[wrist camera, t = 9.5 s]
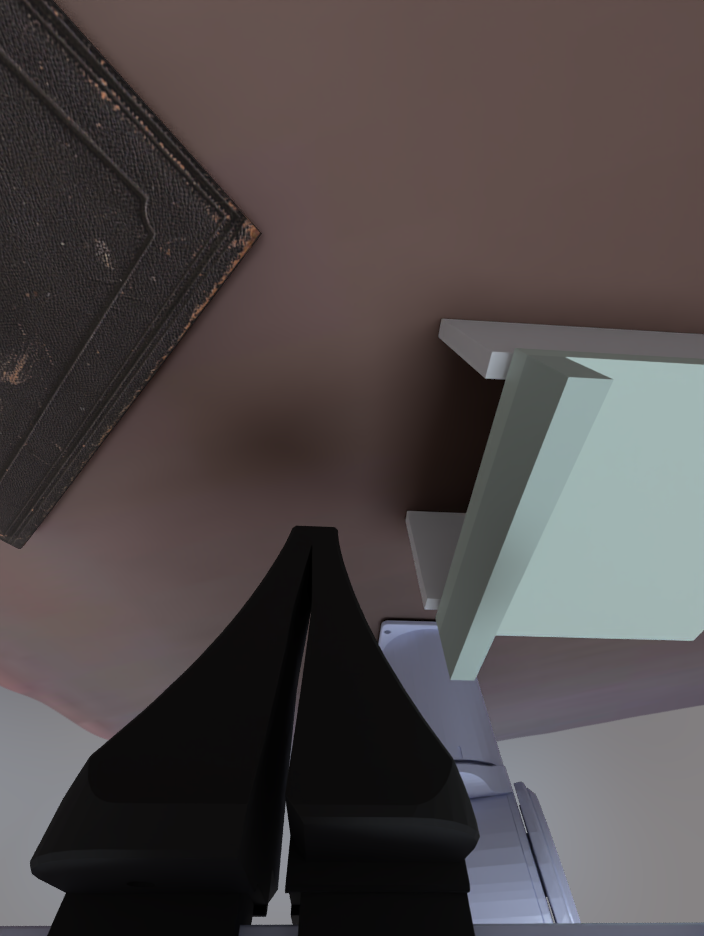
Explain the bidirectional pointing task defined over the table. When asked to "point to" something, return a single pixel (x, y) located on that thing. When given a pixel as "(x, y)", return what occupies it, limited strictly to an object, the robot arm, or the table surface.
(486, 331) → the housing
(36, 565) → the table surface
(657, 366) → the lid
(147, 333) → the hardcover book
